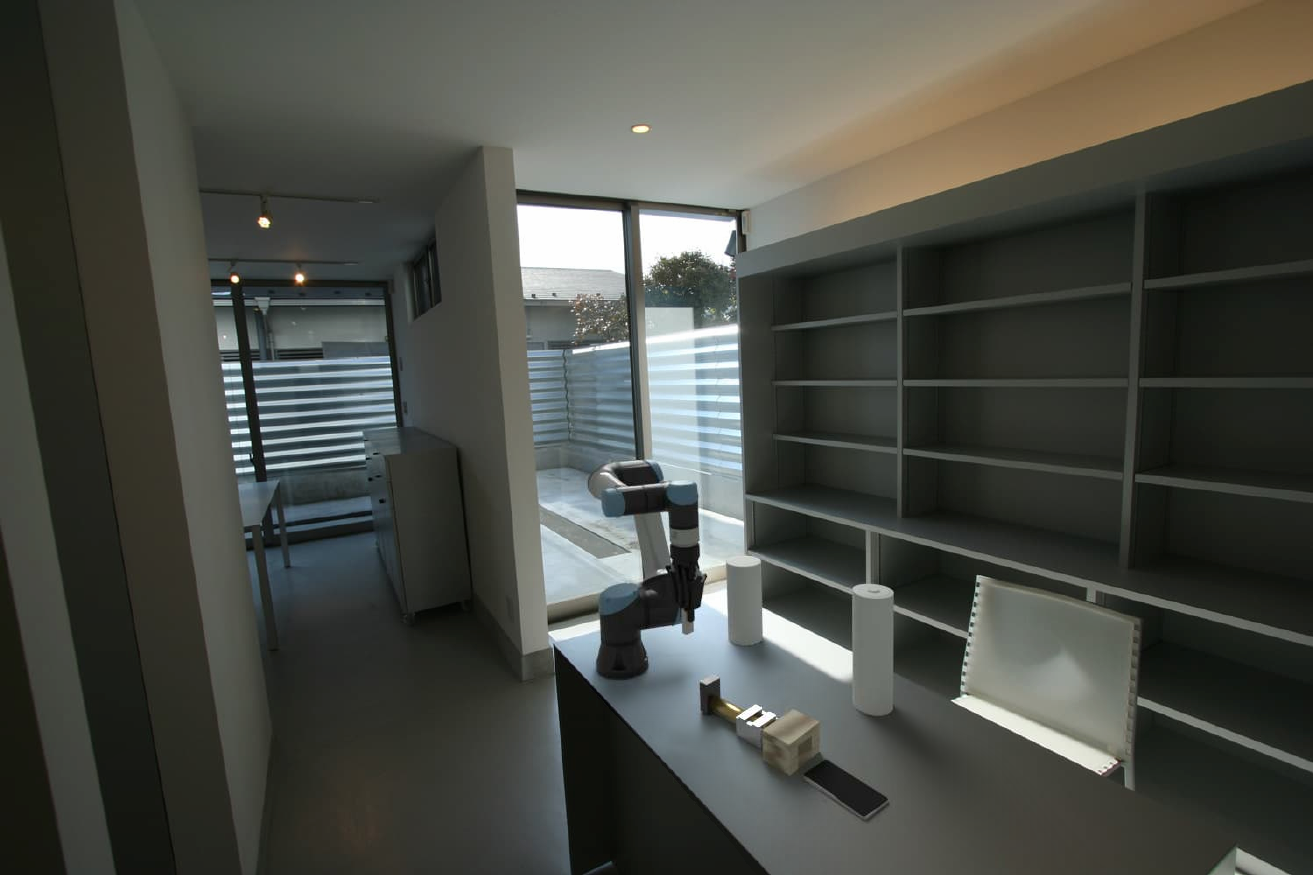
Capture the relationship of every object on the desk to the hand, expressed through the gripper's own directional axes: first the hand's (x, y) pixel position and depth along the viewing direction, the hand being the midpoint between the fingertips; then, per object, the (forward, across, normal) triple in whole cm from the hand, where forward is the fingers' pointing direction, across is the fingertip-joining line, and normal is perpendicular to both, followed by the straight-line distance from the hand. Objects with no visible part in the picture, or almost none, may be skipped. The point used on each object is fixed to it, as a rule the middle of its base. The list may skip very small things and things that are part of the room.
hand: (688, 632), depth 151 cm
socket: (+18, +31, 0) cm, 36 cm away
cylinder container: (+18, +34, +30) cm, 49 cm away
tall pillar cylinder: (+18, -12, +36) cm, 42 cm away
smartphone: (+19, +45, -1) cm, 49 cm away
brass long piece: (+18, +15, 0) cm, 24 cm away
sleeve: (+18, +22, 0) cm, 28 cm away
